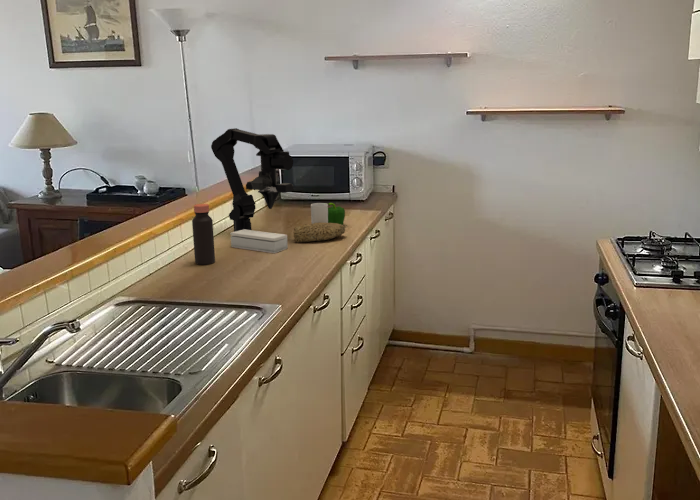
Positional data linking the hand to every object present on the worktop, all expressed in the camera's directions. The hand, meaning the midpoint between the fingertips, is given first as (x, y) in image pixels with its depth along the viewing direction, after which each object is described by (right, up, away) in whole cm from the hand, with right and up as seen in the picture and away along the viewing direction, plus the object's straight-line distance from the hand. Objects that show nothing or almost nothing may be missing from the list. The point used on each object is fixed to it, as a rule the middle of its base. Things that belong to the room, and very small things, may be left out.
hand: (270, 208), depth 268 cm
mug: (+19, -9, +11) cm, 24 cm away
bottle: (-19, -20, -29) cm, 40 cm away
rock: (+19, -12, +2) cm, 23 cm away
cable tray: (-3, -15, -10) cm, 18 cm away
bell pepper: (+24, -6, +24) cm, 35 cm away
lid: (-3, -11, -11) cm, 16 cm away
